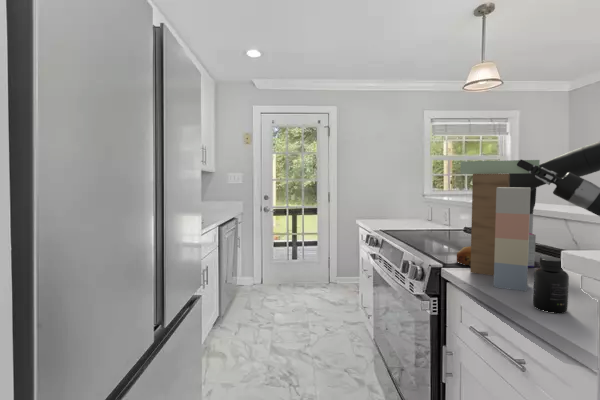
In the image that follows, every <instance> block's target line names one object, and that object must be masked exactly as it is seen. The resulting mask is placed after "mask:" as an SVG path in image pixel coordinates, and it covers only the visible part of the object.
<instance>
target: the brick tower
mask: <svg viewBox="0 0 600 400" xmlns="http://www.w3.org/2000/svg"><path fill="white" fill-rule="evenodd" d="M530 190H531V187H498V188H496V222H495V257H494V275H493V288H499V289H507V290H514V291H520V292H521V291H522V292H527V290H528V274H529V271H528V270H529V268H528V249H529V219H530Z"/></svg>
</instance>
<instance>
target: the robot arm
mask: <svg viewBox="0 0 600 400" xmlns="http://www.w3.org/2000/svg"><path fill="white" fill-rule="evenodd" d="M524 160H525V159H519V162H518V163H517V166H519V167H521V168H523V169H525V170H527V171H529V173H512V174H510V187H531V190H530V219H529V233H531V234H533V232H534V231H533V230H534V229H533V228H534V209H535V206H536V200H537V199H536V198H537V188H539V187H541V186H544V185H548V186H550V184H553V185H555V188H554V189H553V191H552V194H553V195H554V196H556V197H558V198H560V199H562V200H563V201H566V202H568V203H570V204H572V205H574V206H577V207H579V208H582V209H584V210H586V211H588V212H590V213H592V214H593V215H595V216H598V217H600V186H598V185H597V184H595V183H593V182H591V181H589V180H587V179H585V178H583V176H584V177H585V176H587V175H590V174H593V173H597V172H600V140H599V141H597V142H593V143H591V144H587V145H584V146H581V147H579V148H575V149H573V150H570V151H568V152H566V153H563V154H560V155H557V156H556V157H553V158H552V159H549V160H547V161H544V162H541V163H539V166H536V165H533V166H532V164H530V163H528V162H526V161H524ZM538 169H539V172H538V173H536V172H537V170H538Z"/></svg>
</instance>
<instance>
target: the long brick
mask: <svg viewBox="0 0 600 400" xmlns="http://www.w3.org/2000/svg"><path fill="white" fill-rule="evenodd" d="M519 160H520V159H519ZM519 160H478V161H477V160H476V161H473V160H469V161H468V160H467V161H460V168H459V169H460V175H464V174H465V175H467V174H468V175H473V174H512V173H529V171H527V170H525V169H523V168H521V167H519V166H517V163H518V162H519ZM523 160H524V161H526V162H528V163H530V164H532V166H533V165H536V166H539V164H541V163H540V161H541V160H540V159H523ZM538 172H539V169H538V170H537V172H536V173H538Z"/></svg>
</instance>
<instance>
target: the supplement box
mask: <svg viewBox="0 0 600 400" xmlns="http://www.w3.org/2000/svg"><path fill="white" fill-rule="evenodd" d="M536 239H537V237H536V234H531V233H529V249H528V269H529V268H530V269H531V268H533V269H534V268H535V259H536V257H535V255H536Z"/></svg>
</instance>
